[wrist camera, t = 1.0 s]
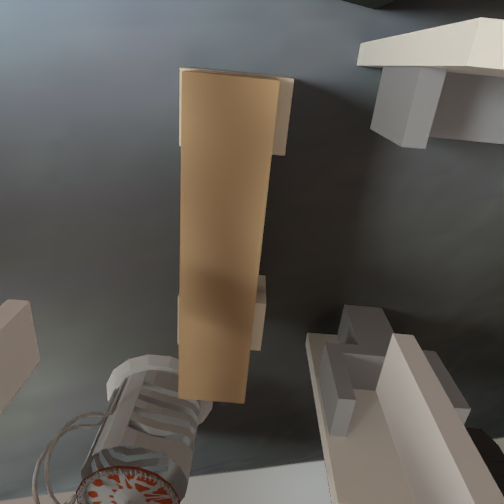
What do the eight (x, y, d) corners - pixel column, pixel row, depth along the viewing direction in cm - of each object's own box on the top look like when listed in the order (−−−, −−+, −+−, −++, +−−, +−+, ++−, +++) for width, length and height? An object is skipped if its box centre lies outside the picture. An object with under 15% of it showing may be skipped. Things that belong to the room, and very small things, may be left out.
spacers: (186, 312, 32) (177, 343, 28) (191, 67, 24) (179, 67, 20) (260, 318, 32) (260, 350, 28) (289, 77, 24) (294, 79, 21)
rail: (191, 345, 28) (178, 398, 24) (199, 69, 20) (182, 71, 16) (246, 349, 28) (244, 403, 24) (275, 77, 21) (279, 80, 16)
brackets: (305, 344, 33) (334, 517, 20) (360, 43, 23) (480, 17, 11) (399, 351, 33) (485, 528, 20) (492, 56, 24) (764, 46, 11)
